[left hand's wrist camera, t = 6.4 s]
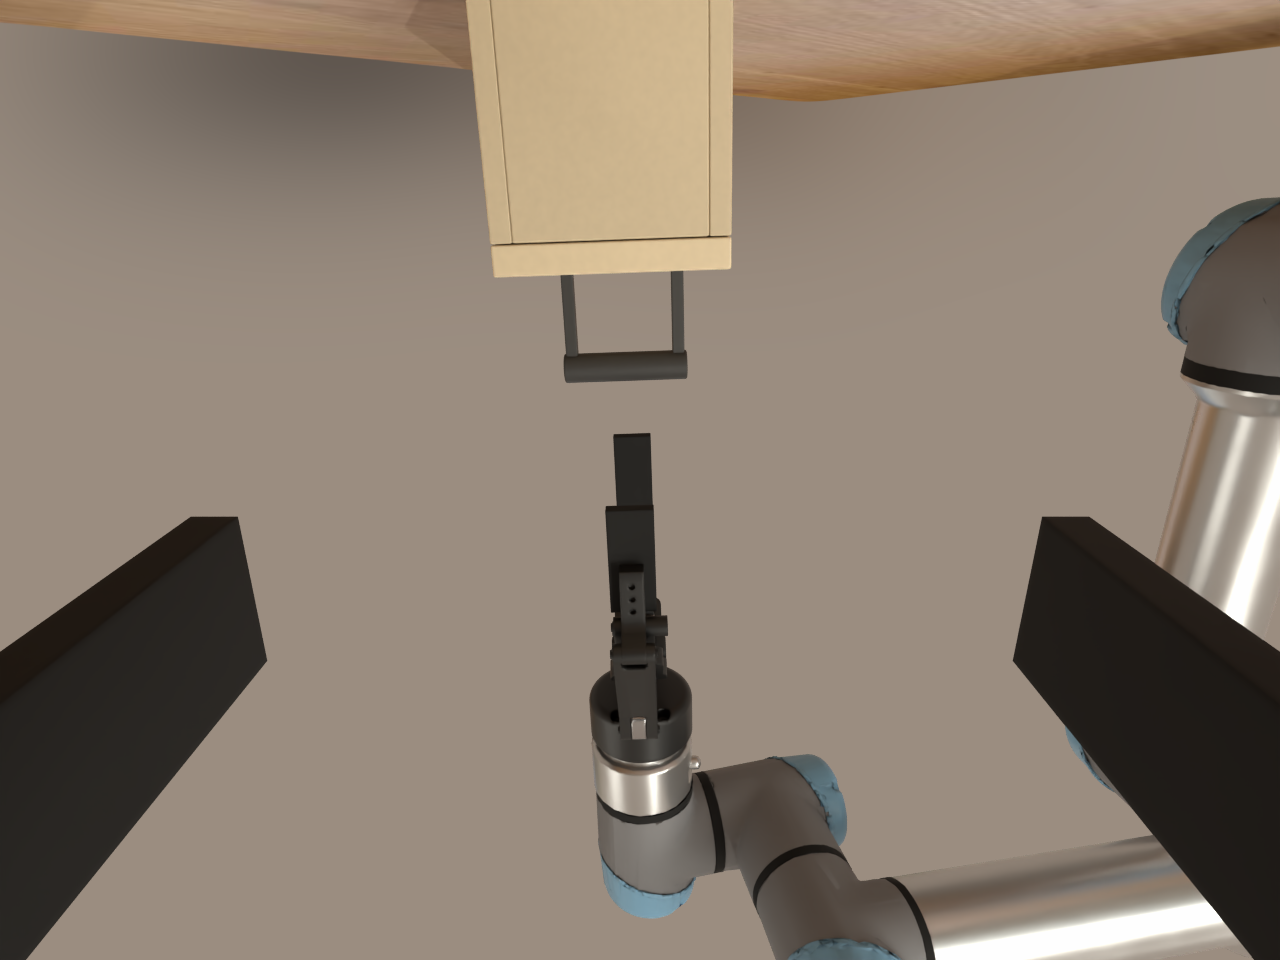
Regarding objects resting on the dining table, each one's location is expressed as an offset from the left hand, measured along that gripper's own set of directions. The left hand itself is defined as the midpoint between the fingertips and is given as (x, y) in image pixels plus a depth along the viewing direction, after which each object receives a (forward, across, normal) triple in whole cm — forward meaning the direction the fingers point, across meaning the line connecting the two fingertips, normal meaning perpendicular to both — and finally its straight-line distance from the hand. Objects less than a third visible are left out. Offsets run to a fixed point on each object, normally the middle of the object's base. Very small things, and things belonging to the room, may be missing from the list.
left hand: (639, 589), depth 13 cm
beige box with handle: (+29, +1, -5) cm, 29 cm away
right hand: (+35, +1, +10) cm, 36 cm away
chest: (+28, +2, -15) cm, 32 cm away
